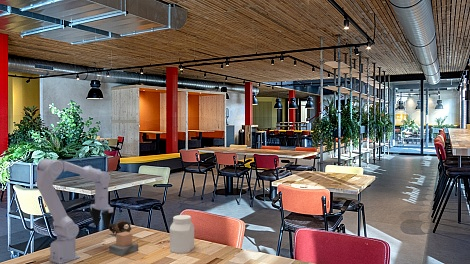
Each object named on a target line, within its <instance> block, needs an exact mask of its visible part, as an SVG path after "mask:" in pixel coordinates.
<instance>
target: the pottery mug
mask: <svg viewBox="0 0 470 264" xmlns="http://www.w3.org/2000/svg"><path fill="white" fill-rule="evenodd" d="M126 225H127V226H128V227H127V228H125V226H126ZM107 228H108V230H109V231H111V234H118V233H122V232H129V233H131V231H132V227H131V223H130V222H128V221H126V220H120V221H118V222H116V224H115V223H110V225H109V227H107Z"/></svg>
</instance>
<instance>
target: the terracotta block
mask: <svg viewBox="0 0 470 264" xmlns="http://www.w3.org/2000/svg"><path fill="white" fill-rule="evenodd" d="M115 234H116V233H115ZM115 239H116V242H115V243H116V245H118V246H121V247H125V246H128V245H132V242H133V233H132V232H122V233H117V234H116V235H115Z"/></svg>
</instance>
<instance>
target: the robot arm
mask: <svg viewBox="0 0 470 264" xmlns="http://www.w3.org/2000/svg"><path fill="white" fill-rule="evenodd" d="M35 171H36V182H35V184H36V187H37V189H38V191H39V193H40V195H41V197H42V199H43V202H45V205H46V207H47V209H48V211H49V213H50V215H51V217H52V219H53V222H52V225H53V233H54V234H55V235H56V240H54V241H52V242H51V243H50V247H49V251H50V252H49V253H50V254H49V256H50V258H49V259H48V260H49V261H50V262H53V263H55V264H64V263H67V262H71V261H74V260H76V259H80V258H81V256H80V255H77V252H76V249H77V248H76V239H77V237H78V234H79V232H80V228H79V226H78V224H76V223H74V220H73V219H72V218H71V217H69V215H68V214H67V212H66V210H65V207H64V206H63V204H62V201H61V199H60V196H58V193H57V190H56V189H55V186H54V183H55V181H56V180H57V178H59V176H60V175H61V174H62V173H65V172H71V173H74V174H77V175H79V176H80V177H81V178H82V179H84V180H87V181H91V182H93V183H94V203H93V204H90V208H89V209H90V210H88V212H89V214H90V215H91V218H92V221H93V226H97V225H100V219H101V218H100V217H101V216H102V219H103V227H104V228H108V227H109V225H110V224H111V221H112V218H113V216H114V214H115V211H114V207H112V206H111V205H110V204H109V183H110V181H111V179H112V177H111V175H110V174H109V172H107V171H104V170H103V171H102V169H101V168H95V167H93V166H92V165H85V166H80V165H76V164H74V163H72V162H69V161H65V160H60V159H50V158H42V159H41V160H39V161H38V163H37V165H36V167H35Z"/></svg>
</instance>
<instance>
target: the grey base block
mask: <svg viewBox="0 0 470 264" xmlns="http://www.w3.org/2000/svg"><path fill="white" fill-rule="evenodd" d="M108 248H109V249H108V251H109V253H111V254H113V255H116V256H121V257H124V256H126V255H130V254H133V253H136V252H138V251H139V243H136V242H133V241H132V245H128V246H125V247H121V246H118V245H116V242H115V243H112V244H110V245H108Z"/></svg>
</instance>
